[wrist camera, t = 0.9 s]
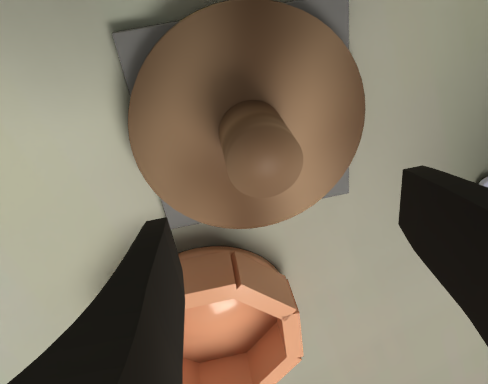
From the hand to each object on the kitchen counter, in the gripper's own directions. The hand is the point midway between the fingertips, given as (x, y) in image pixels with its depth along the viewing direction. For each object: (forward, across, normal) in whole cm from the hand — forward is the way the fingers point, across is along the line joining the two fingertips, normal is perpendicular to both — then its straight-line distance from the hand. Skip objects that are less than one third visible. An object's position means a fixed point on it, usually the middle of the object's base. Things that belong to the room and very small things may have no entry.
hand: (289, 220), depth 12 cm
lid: (+8, 0, 0) cm, 8 cm away
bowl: (+9, +4, +12) cm, 15 cm away
